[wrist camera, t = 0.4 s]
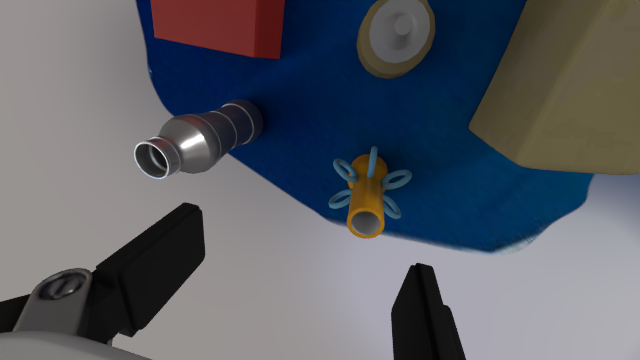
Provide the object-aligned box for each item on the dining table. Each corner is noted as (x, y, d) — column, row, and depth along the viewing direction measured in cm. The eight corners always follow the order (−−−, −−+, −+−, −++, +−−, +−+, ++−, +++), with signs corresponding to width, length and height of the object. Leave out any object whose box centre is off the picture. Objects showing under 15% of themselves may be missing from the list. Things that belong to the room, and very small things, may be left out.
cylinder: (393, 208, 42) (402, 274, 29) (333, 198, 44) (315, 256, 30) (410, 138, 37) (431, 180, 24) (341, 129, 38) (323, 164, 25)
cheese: (517, -82, 26) (670, -240, 12) (630, -92, 24) (952, -289, 11) (462, 130, 35) (516, 171, 22) (541, 134, 33) (652, 181, 20)
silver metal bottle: (257, 91, 39) (156, 114, 21) (274, 132, 41) (196, 185, 23) (223, 104, 41) (105, 136, 23) (241, 143, 43) (147, 199, 25)
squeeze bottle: (357, 79, 35) (343, 91, 19) (358, 10, 32) (341, -45, 16) (418, 76, 33) (459, 87, 17) (426, 3, 30) (484, -66, 14)
